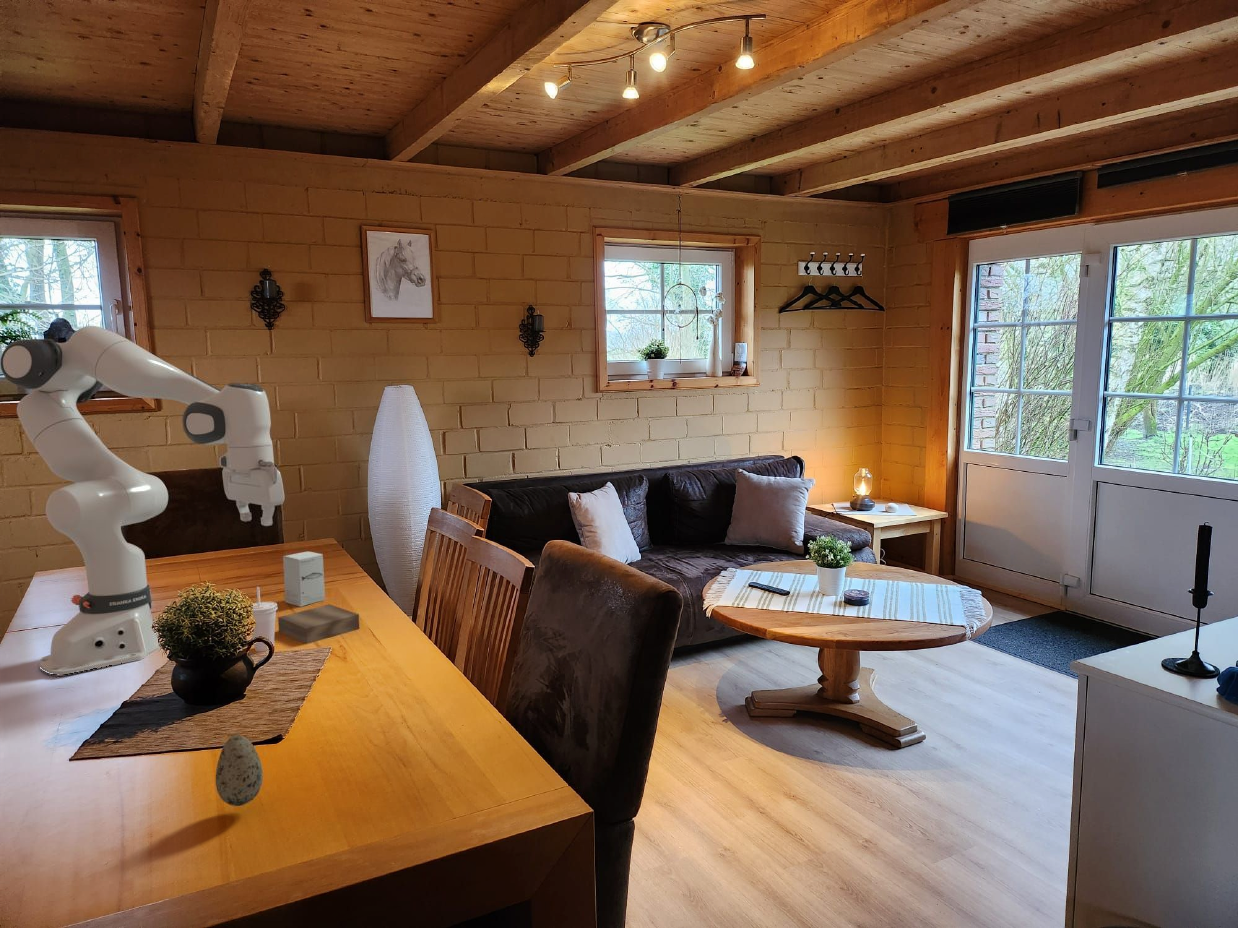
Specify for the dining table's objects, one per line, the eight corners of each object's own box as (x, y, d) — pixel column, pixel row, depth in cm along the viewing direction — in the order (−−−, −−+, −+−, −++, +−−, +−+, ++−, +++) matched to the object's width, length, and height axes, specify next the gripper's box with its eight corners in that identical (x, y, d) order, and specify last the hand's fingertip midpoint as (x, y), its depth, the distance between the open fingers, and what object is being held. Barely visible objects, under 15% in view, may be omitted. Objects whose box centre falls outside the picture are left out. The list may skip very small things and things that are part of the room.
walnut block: (307, 645, 178) (306, 628, 178) (279, 633, 187) (278, 617, 186) (359, 630, 188) (358, 614, 188) (330, 620, 197) (329, 604, 196)
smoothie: (241, 650, 174) (237, 588, 173) (267, 641, 180) (262, 581, 178) (261, 655, 171) (257, 591, 170) (286, 646, 177) (282, 584, 175)
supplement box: (300, 607, 206) (297, 559, 205) (284, 602, 210) (281, 555, 209) (326, 600, 212) (323, 553, 210) (310, 596, 216) (307, 550, 215)
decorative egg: (271, 791, 116) (266, 725, 115) (253, 814, 110) (248, 744, 109) (229, 792, 116) (224, 726, 114) (209, 815, 110) (204, 746, 108)
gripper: (289, 460, 167) (294, 525, 169) (244, 455, 180) (249, 516, 182) (259, 463, 162) (265, 530, 164) (215, 458, 175) (220, 520, 177)
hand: (256, 523), depth 173 cm, fingers open, 8 cm apart
